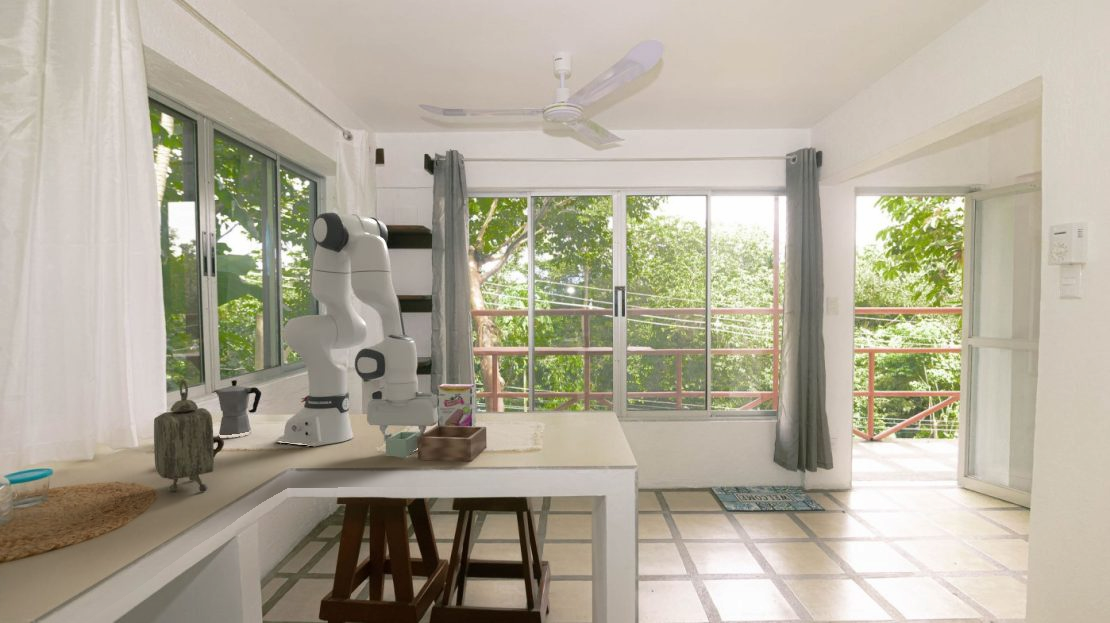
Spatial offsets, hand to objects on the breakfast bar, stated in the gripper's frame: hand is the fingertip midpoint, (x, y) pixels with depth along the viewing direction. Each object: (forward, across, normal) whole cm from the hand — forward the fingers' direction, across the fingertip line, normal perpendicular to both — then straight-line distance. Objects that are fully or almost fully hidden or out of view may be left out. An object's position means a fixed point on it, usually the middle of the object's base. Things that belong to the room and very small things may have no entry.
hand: (403, 441), depth 149 cm
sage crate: (+4, 0, -1) cm, 4 cm away
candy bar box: (+4, -8, -20) cm, 22 cm away
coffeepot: (+3, +64, -12) cm, 65 cm away
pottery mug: (+3, +52, +16) cm, 54 cm away
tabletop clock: (+3, +37, +35) cm, 51 cm away
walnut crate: (+4, -14, -2) cm, 15 cm away
